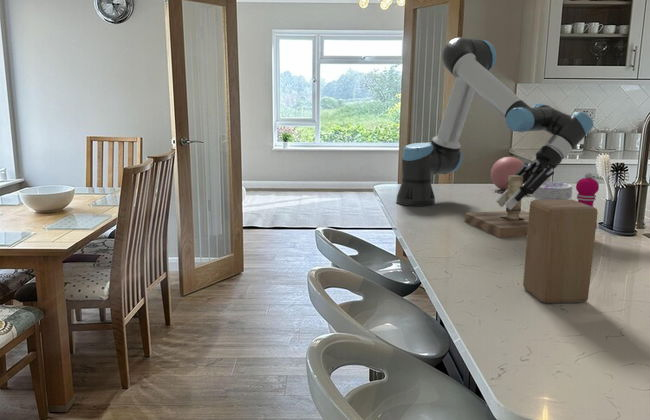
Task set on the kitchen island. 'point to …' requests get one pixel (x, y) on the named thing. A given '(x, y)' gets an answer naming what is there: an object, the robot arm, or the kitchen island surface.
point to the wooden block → (559, 250)
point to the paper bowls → (553, 191)
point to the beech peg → (513, 186)
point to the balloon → (505, 171)
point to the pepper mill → (587, 190)
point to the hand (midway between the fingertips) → (503, 205)
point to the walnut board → (499, 223)
